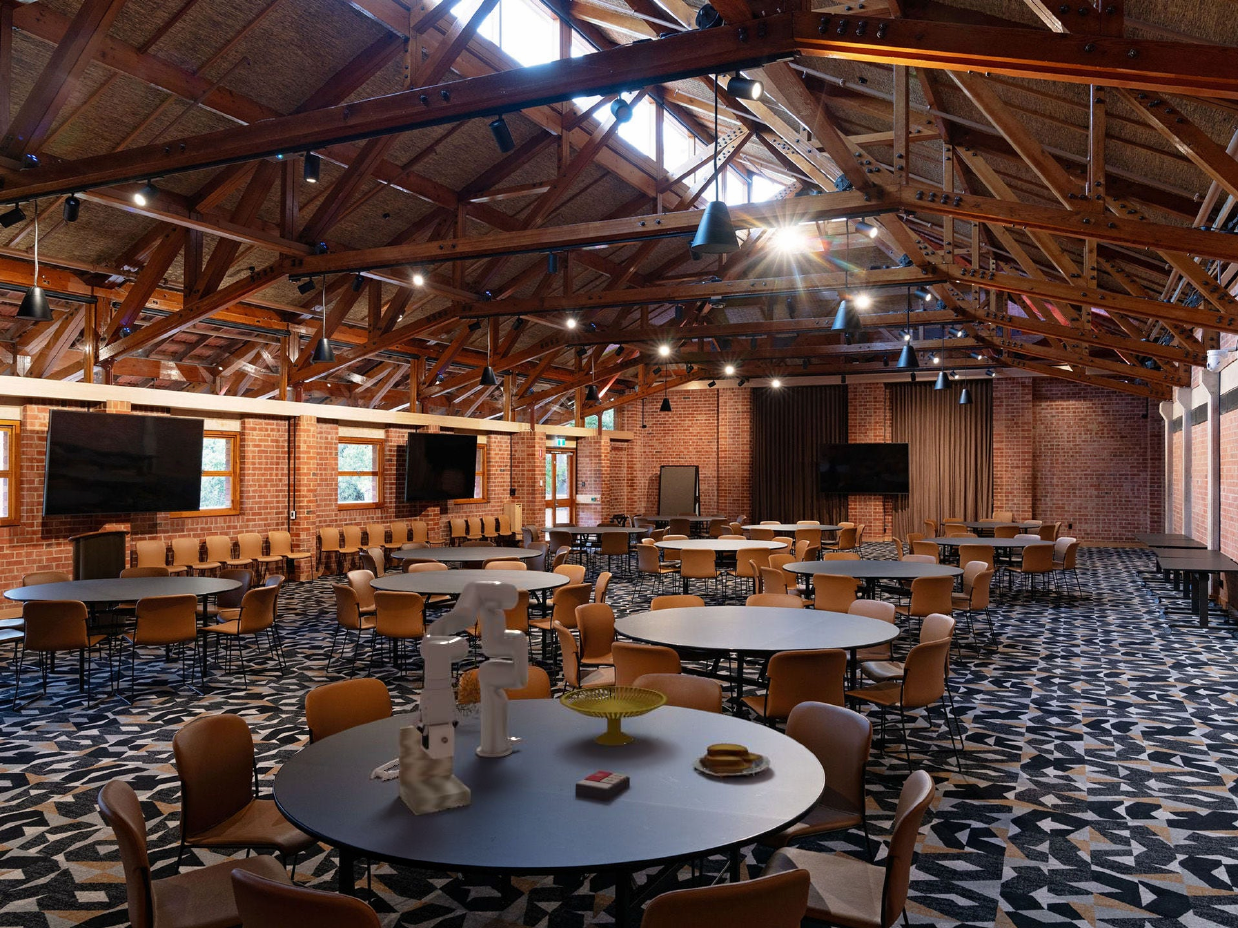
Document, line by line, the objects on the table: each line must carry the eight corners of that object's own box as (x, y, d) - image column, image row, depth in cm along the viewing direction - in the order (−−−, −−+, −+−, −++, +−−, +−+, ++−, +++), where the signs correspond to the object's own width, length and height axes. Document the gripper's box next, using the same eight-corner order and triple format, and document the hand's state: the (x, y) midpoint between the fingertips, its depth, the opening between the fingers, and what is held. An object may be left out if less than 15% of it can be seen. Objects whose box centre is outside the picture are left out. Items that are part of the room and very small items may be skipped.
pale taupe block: (440, 745, 241) (440, 717, 241) (455, 756, 229) (455, 728, 230) (420, 748, 238) (421, 720, 238) (434, 760, 226) (435, 731, 227)
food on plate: (728, 788, 245) (728, 766, 245) (677, 766, 266) (677, 746, 266) (787, 772, 259) (787, 751, 260) (734, 752, 280) (734, 733, 280)
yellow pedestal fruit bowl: (644, 720, 321) (643, 682, 322) (687, 749, 283) (687, 705, 284) (546, 730, 307) (546, 690, 307) (578, 762, 269) (578, 717, 270)
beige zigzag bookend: (450, 785, 248) (450, 719, 249) (470, 804, 233) (470, 733, 234) (398, 795, 240) (399, 727, 241) (415, 815, 225) (416, 742, 226)
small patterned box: (630, 774, 248) (607, 786, 235) (630, 788, 248) (607, 802, 234) (599, 769, 253) (574, 781, 240) (598, 783, 253) (574, 796, 239)
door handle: (440, 760, 274) (388, 783, 251) (417, 756, 278) (365, 778, 256) (440, 752, 274) (389, 774, 251) (417, 748, 278) (365, 770, 256)
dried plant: (403, 687, 303) (512, 637, 304) (426, 676, 334) (524, 630, 335) (434, 764, 299) (544, 712, 300) (454, 745, 330) (554, 699, 331)
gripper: (461, 678, 243) (461, 738, 242) (404, 684, 234) (404, 747, 233) (470, 682, 236) (470, 745, 235) (412, 689, 228) (411, 754, 227)
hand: (437, 745), depth 234 cm, fingers closed on pale taupe block, 6 cm apart
